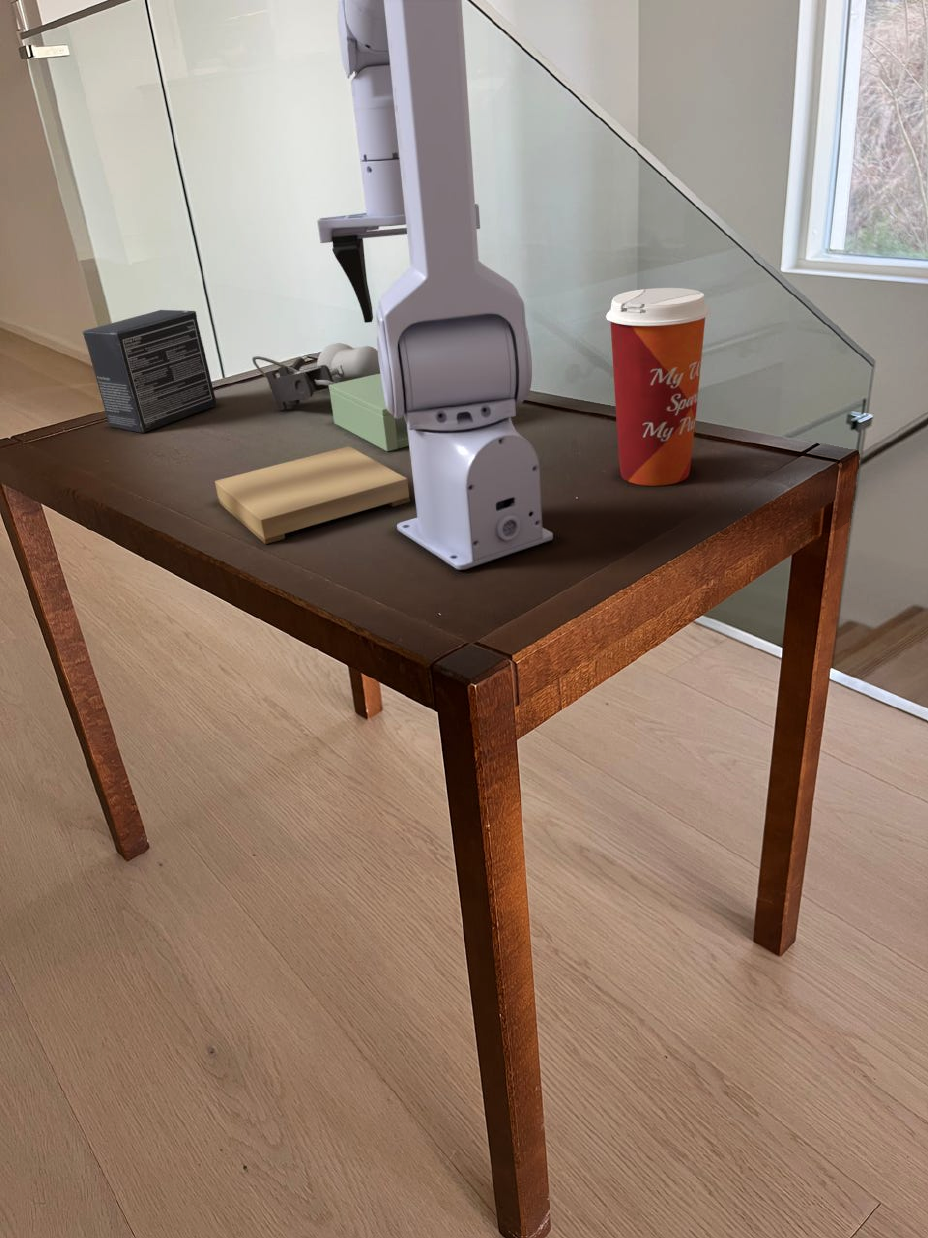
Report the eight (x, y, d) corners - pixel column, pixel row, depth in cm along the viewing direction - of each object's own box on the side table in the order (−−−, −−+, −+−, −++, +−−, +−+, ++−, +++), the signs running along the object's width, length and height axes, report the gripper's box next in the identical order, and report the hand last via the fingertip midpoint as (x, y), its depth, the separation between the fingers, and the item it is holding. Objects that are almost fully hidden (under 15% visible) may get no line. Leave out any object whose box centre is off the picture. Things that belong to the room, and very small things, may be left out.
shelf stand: (495, 422, 93) (493, 382, 91) (387, 451, 88) (381, 409, 86) (435, 398, 102) (431, 361, 100) (334, 423, 97) (328, 384, 95)
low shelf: (410, 501, 77) (407, 478, 76) (265, 544, 71) (260, 520, 70) (352, 467, 85) (349, 445, 84) (219, 503, 80) (214, 480, 79)
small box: (182, 400, 110) (161, 307, 105) (219, 405, 107) (199, 309, 102) (105, 427, 103) (78, 328, 98) (143, 434, 100) (117, 332, 94)
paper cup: (670, 497, 73) (674, 309, 66) (588, 479, 78) (585, 302, 71) (721, 466, 78) (731, 288, 71) (641, 451, 83) (643, 283, 76)
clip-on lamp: (246, 417, 113) (306, 413, 98) (226, 364, 110) (284, 352, 95) (331, 385, 118) (400, 377, 103) (313, 334, 115) (382, 318, 100)
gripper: (473, 148, 87) (483, 301, 93) (315, 162, 87) (337, 314, 94) (475, 152, 81) (487, 316, 87) (306, 167, 81) (330, 330, 87)
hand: (409, 316), depth 90 cm, fingers open, 7 cm apart
